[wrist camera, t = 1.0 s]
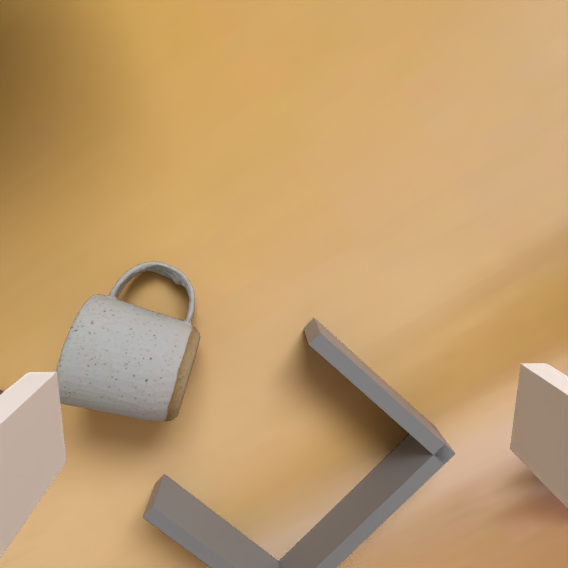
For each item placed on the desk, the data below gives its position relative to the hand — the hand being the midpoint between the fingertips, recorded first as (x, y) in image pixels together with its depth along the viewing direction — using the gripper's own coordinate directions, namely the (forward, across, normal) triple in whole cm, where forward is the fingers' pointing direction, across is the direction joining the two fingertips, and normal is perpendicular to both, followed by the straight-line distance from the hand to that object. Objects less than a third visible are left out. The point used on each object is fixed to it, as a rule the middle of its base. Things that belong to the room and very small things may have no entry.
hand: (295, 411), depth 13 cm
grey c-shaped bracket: (+22, +2, -15) cm, 27 cm away
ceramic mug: (+23, -10, -5) cm, 25 cm away
